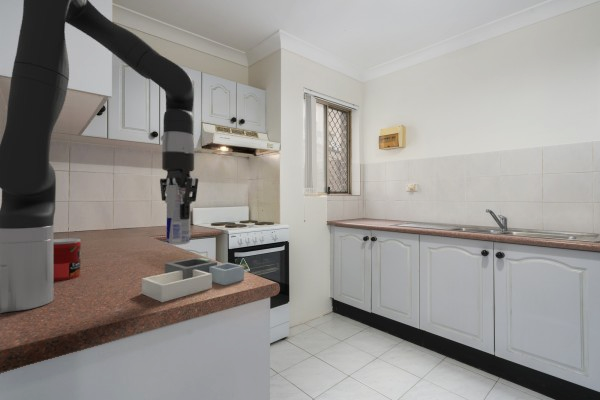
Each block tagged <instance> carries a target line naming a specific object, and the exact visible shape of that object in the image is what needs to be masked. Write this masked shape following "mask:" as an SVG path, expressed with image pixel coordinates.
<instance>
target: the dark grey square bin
mask: <svg viewBox="0 0 600 400" xmlns="http://www.w3.org/2000/svg"><path fill="white" fill-rule="evenodd" d="M216 265H218V262H216V261H212V260H211V259H207V258H203V257H201V258H199V257H193V258H187V259H182V260H181V259H180V260H176V261H170V262H164V274H166V273H170V272H175V271H180V270H182V271H183V280H184V279H188V278H193V270H195V269H196V270H200V271H203V272H207V273H209V267H211V266H216Z"/></svg>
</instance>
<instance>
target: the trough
mask: <svg viewBox="0 0 600 400" xmlns="http://www.w3.org/2000/svg"><path fill="white" fill-rule="evenodd" d="M212 288H213V282H212V274H211V273H207V272H203V271H200V270H196V269H195V270H193V278H188V279H184V280H183V271H182V270H180V271H175V272H170V273H166V274H165V273H162V274H158V275H157V274H156V275H151V276H147V277H142V278H141V294H142V295H144V296H147V297H149V298H150V299H153V300H156V301H159V302H160V303H165V302H168V301H172V300H175V299H179V298H182V297H185V296H190V295H192V294H196V293H199V292H204V291H207V290H210V289H212Z"/></svg>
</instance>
